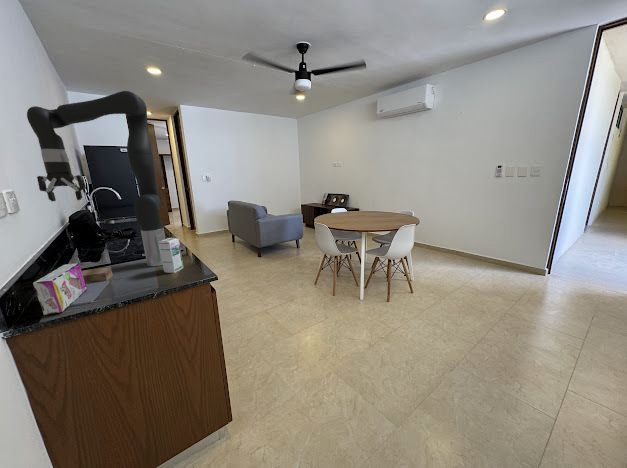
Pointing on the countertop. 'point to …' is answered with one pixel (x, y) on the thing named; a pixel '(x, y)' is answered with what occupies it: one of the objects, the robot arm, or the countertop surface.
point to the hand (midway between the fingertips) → (66, 200)
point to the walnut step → (97, 275)
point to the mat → (90, 293)
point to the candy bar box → (60, 288)
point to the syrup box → (171, 255)
